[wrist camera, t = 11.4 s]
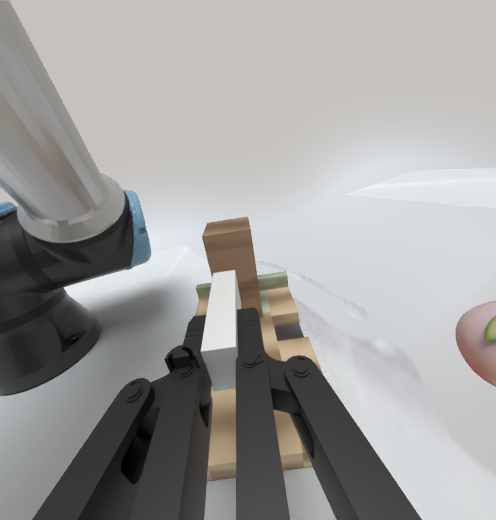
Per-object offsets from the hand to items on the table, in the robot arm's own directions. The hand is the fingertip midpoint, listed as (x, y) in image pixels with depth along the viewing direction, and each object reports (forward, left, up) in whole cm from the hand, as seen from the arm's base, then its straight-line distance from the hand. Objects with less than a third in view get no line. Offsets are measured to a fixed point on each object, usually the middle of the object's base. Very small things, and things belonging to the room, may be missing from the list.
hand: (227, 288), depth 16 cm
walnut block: (-14, +7, -14) cm, 21 cm away
